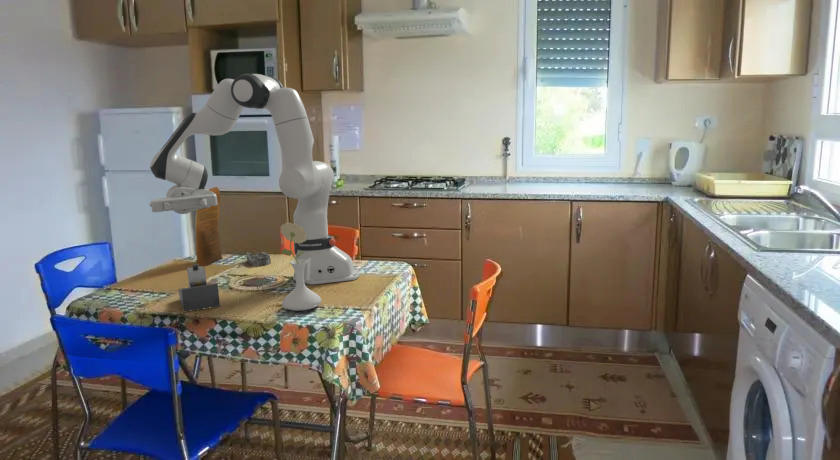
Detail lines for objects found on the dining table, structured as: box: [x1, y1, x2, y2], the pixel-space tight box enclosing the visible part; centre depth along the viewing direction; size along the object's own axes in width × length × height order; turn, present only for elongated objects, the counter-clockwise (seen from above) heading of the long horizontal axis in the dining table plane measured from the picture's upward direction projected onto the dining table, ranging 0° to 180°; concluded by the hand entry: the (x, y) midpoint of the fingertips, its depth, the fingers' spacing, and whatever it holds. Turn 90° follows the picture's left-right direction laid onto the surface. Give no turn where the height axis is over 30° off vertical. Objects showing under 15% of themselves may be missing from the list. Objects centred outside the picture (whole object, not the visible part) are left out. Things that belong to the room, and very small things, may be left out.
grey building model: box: [245, 251, 272, 267], centre depth 237 cm, size 11×8×4 cm
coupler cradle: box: [178, 283, 221, 312], centre depth 190 cm, size 14×10×7 cm
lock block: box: [186, 263, 208, 288], centre depth 188 cm, size 6×5×11 cm
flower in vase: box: [280, 222, 323, 312], centre depth 181 cm, size 13×11×25 cm
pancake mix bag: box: [194, 186, 223, 267], centre depth 238 cm, size 7×19×28 cm, turn 168°
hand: (186, 205), depth 199 cm, fingers open, 8 cm apart
